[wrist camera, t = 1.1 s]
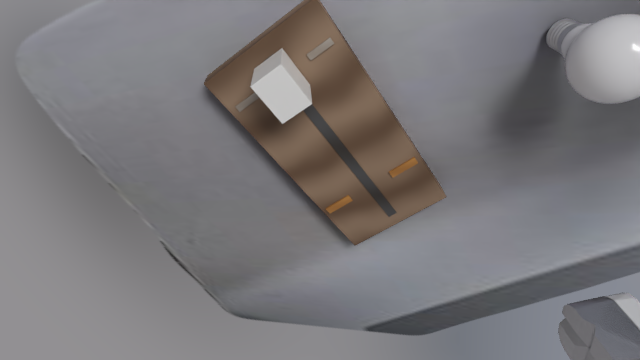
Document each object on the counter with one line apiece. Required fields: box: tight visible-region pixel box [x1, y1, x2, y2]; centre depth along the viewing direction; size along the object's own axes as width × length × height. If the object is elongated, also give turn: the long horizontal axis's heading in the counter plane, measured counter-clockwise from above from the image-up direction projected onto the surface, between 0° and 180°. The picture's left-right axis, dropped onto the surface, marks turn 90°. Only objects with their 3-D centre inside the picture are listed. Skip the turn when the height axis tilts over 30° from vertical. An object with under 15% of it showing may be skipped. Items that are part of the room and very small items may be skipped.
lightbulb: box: [546, 14, 640, 104], centre depth 31 cm, size 6×6×11 cm
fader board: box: [204, 0, 446, 245], centre depth 40 cm, size 25×12×2 cm, turn 35°
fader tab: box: [250, 48, 312, 124], centre depth 32 cm, size 4×3×4 cm
